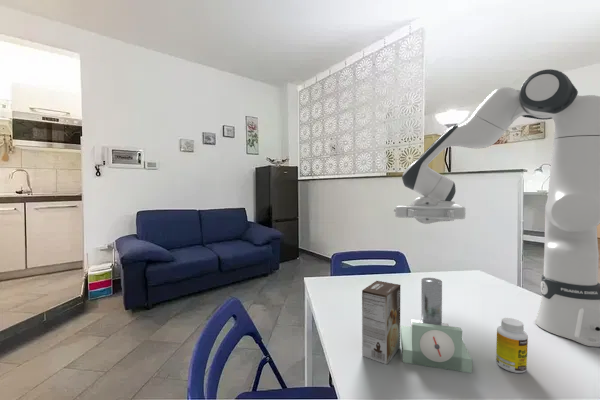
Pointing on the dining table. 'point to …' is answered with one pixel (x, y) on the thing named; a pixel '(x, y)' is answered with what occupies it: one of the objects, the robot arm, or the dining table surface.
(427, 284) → the cylinder
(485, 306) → the dining table surface
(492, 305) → the dining table surface
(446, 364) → the scale
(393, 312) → the coffee box
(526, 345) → the supplement bottle
